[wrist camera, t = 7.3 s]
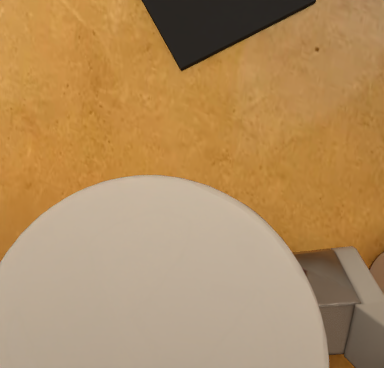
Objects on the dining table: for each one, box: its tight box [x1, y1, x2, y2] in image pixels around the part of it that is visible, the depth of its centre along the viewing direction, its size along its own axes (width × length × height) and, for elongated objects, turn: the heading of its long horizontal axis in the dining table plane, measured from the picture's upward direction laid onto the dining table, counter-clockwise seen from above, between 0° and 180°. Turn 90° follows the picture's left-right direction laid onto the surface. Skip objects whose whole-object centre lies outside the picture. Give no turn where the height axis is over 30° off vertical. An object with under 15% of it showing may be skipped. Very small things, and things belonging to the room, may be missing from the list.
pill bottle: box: [0, 175, 329, 368], centre depth 9 cm, size 6×6×10 cm
